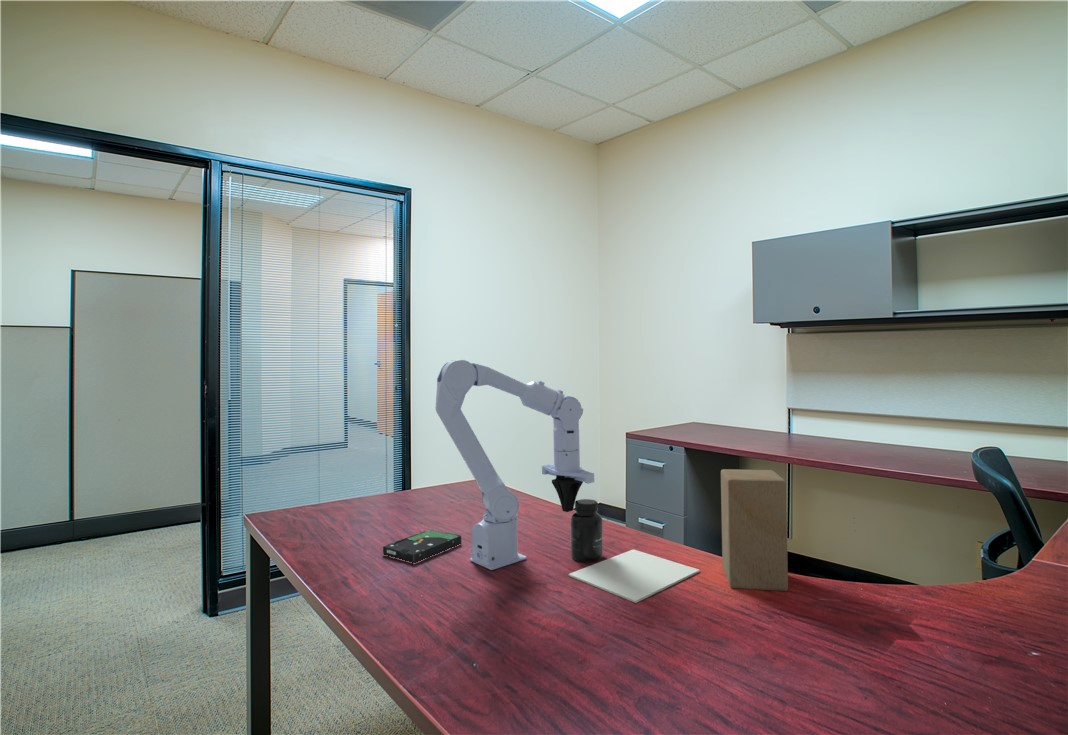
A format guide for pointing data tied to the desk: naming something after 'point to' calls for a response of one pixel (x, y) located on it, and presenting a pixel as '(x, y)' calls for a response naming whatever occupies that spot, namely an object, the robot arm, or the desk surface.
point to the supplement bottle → (586, 532)
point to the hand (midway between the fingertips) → (567, 510)
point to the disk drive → (422, 545)
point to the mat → (634, 575)
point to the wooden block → (754, 529)
